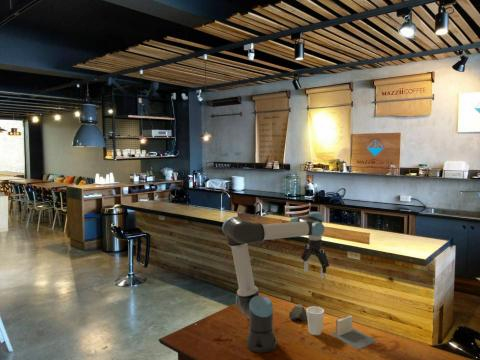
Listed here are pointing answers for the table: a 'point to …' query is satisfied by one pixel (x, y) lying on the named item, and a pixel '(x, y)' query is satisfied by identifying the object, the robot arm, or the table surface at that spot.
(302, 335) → the table surface
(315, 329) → the foam cup
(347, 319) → the tile
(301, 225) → the robot arm
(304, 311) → the fossil
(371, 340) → the mat
